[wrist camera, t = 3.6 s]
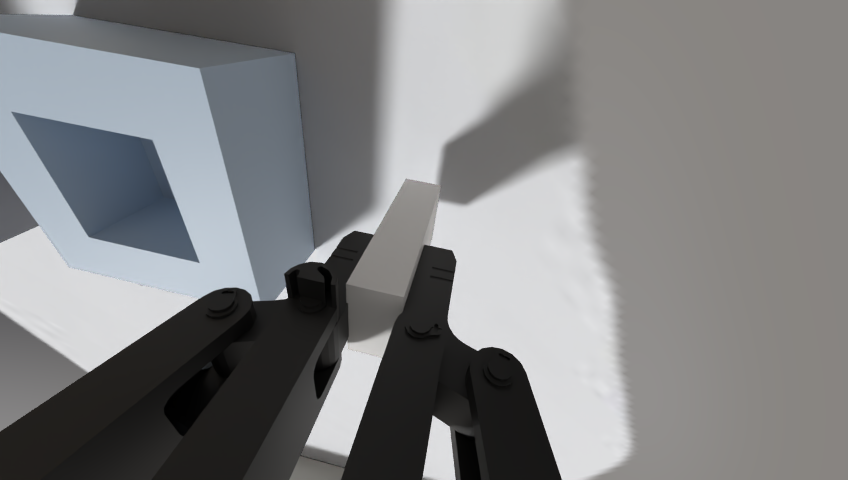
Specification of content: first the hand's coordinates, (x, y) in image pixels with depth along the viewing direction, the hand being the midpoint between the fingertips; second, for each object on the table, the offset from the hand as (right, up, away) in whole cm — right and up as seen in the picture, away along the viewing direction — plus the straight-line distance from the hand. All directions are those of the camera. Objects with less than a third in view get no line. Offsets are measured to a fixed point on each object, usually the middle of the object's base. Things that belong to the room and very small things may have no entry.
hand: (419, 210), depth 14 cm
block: (-10, +3, +2) cm, 11 cm away
